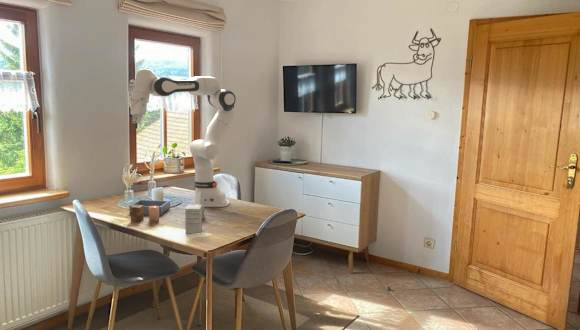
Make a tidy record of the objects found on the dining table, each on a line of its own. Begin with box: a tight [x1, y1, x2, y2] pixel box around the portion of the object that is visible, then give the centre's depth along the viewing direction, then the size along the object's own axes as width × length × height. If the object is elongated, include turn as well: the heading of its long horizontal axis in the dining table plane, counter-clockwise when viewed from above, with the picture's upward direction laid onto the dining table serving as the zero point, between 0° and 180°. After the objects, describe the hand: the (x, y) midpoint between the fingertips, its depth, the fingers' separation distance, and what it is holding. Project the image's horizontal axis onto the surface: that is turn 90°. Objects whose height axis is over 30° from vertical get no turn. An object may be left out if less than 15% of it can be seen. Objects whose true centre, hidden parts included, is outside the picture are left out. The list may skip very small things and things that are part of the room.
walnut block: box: [129, 205, 145, 223], centre depth 233 cm, size 5×5×8 cm
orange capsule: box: [148, 206, 160, 224], centre depth 232 cm, size 5×5×8 cm
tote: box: [129, 199, 171, 217], centre depth 251 cm, size 18×14×5 cm
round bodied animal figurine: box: [195, 204, 206, 220], centre depth 237 cm, size 7×12×8 cm, turn 138°
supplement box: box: [184, 204, 203, 234], centre depth 218 cm, size 7×7×13 cm
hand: (135, 123), depth 240 cm, fingers open, 8 cm apart
